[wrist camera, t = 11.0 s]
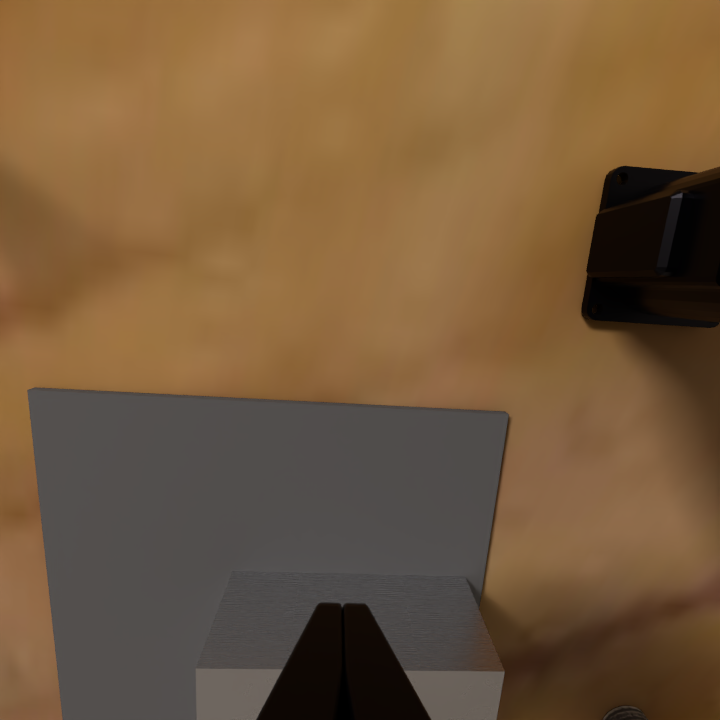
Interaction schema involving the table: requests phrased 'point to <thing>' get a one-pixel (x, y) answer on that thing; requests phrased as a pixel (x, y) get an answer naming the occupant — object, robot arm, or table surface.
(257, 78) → the table surface
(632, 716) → the lighter
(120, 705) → the mat
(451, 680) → the hitch block
